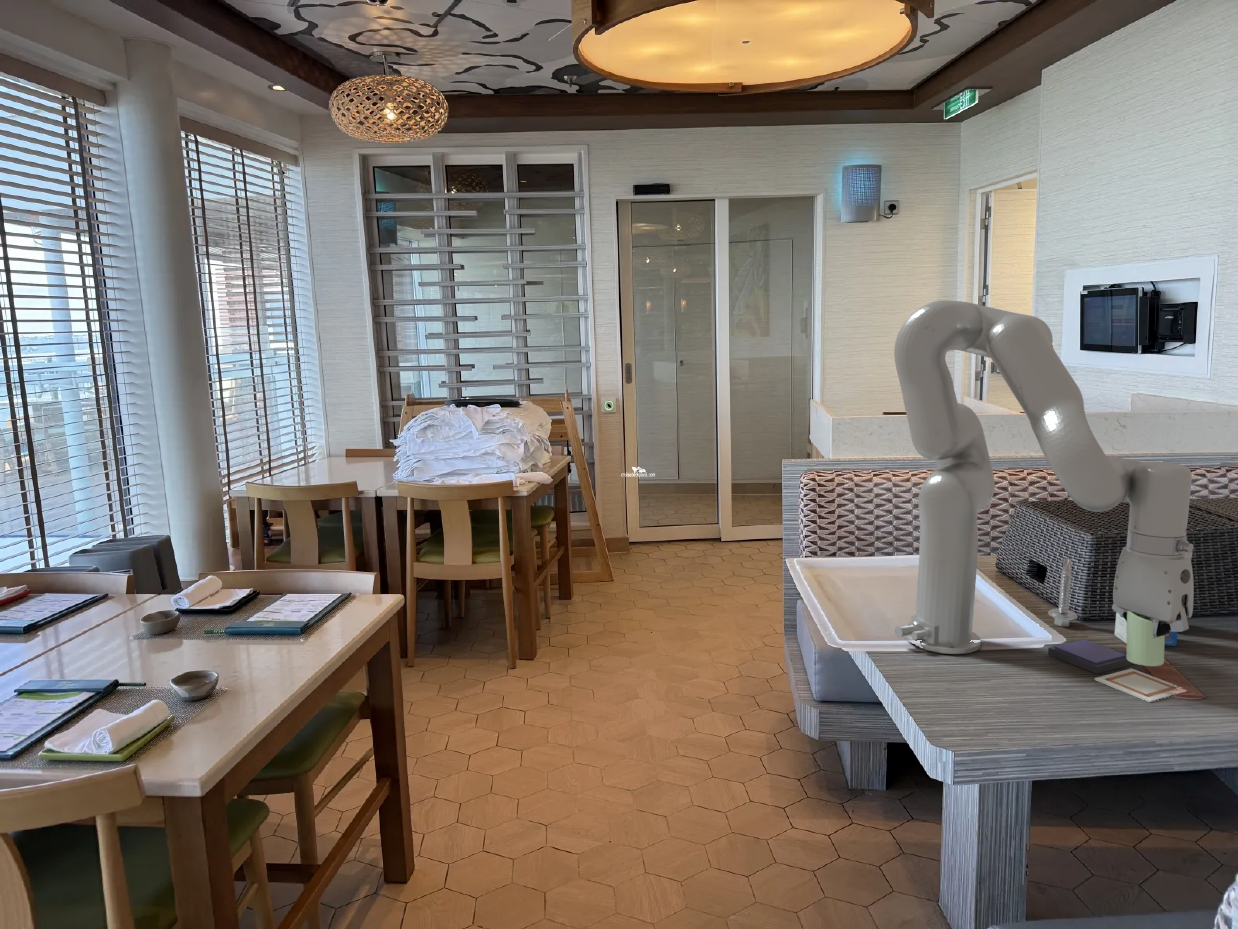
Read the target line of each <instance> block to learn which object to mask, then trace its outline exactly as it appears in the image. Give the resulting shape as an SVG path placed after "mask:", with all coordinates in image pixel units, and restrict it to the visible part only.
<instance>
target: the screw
mask: <svg viewBox="0 0 1238 929" xmlns="http://www.w3.org/2000/svg"><path fill="white" fill-rule="evenodd" d="M1072 572H1073V571H1072V559H1070V558H1069V557H1067V558H1064V559H1063V563H1062V571H1061V572H1060V576H1061V577H1060V578H1059V579H1060V581H1059V582H1060V583H1059V585H1060V586H1059V588H1060V589H1059V590H1058V591H1059V593H1058V594H1059V596H1058V597H1059V598H1058V601H1059V602H1057V603H1058V605H1057V606H1058V608H1057V607H1056V608H1051V609H1050V610H1048V611H1047V613H1048V615H1049V616H1051V617H1052V618H1053V619H1054V622H1053V624H1054V625H1056V626H1059V627H1069V626H1070V622H1071V621H1072V620H1076V619H1077V618H1078V614H1077V613H1076V612H1075V611H1072V610H1070V608H1069V607H1070V600H1071V599H1070V597H1071V596H1070V594H1071V588H1072V587H1071V585H1072V583H1071V582H1072V580H1071V579H1072V578H1073V577H1072V575H1073V574H1072Z"/></svg>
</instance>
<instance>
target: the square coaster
mask: <svg viewBox="0 0 1238 929" xmlns="http://www.w3.org/2000/svg"><path fill="white" fill-rule="evenodd" d="M1094 681H1096V682H1098V683H1100V684H1103V685H1106V686H1108V687H1111V688H1113V689H1116V690H1118V691H1120V692H1123V693H1125V694H1128V695H1130V696H1132V697H1135V698H1138V699H1140V700H1143V701H1144V700H1145V702H1148V703H1149V702H1151V703H1154V702H1157V701H1160V700H1159V699H1161V700H1163V699H1162V698H1164V699H1167V698H1166V697H1168V698H1170V697H1169V696H1171V695H1174V694H1176V693H1173V692H1171V691H1178V690H1176V688H1178V687H1177V686H1178V685H1176V684H1174V683H1171V682H1168V681H1166V680H1164V679H1161V678H1158V677H1155V676H1152V675H1150V674H1147V673H1145V672H1142V671H1139V670H1137V669H1135V668H1128V669H1124V670H1121V671H1117V672H1112V673H1110V674H1109V673H1108V674H1105V675H1102V676H1098V677H1094ZM1173 684H1174V686H1173ZM1179 688H1183V687H1181V686H1179ZM1179 691H1180V690H1179ZM1174 696H1175V695H1174ZM1171 697H1172V696H1171ZM1156 700H1157V701H1156Z"/></svg>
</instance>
